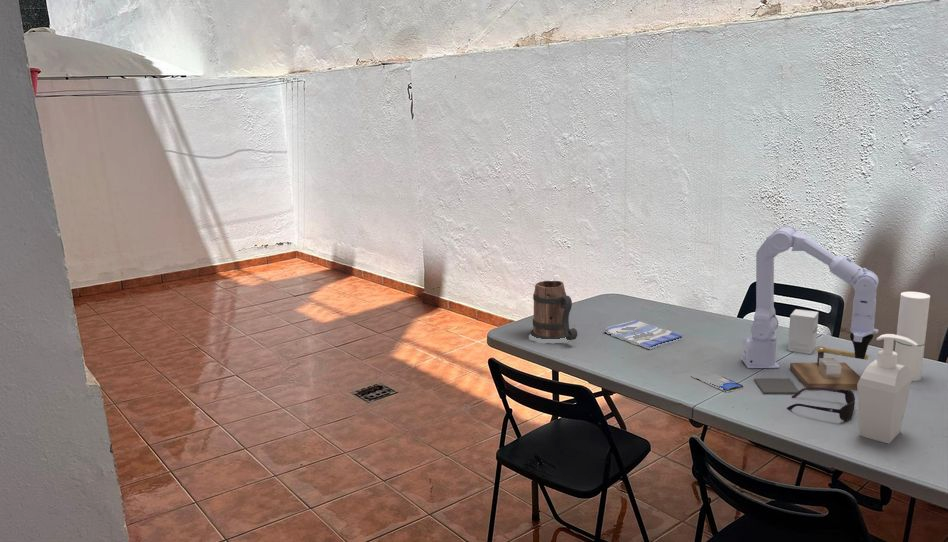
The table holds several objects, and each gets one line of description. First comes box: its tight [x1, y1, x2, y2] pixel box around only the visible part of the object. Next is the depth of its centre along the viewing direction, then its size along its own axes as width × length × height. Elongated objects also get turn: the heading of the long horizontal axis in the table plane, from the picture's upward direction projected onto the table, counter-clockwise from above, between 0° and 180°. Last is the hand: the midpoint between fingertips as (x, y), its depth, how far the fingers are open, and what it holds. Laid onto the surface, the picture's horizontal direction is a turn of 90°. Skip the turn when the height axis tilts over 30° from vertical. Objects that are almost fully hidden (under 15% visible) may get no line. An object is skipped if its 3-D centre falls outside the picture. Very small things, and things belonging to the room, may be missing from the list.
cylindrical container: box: [894, 291, 931, 382], centre depth 202 cm, size 7×7×25 cm
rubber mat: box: [753, 377, 800, 395], centre depth 202 cm, size 10×10×1 cm
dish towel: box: [604, 319, 683, 348], centre depth 250 cm, size 17×24×3 cm
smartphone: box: [709, 376, 744, 391], centre depth 208 cm, size 8×15×1 cm, turn 26°
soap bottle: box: [856, 333, 918, 445], centre depth 169 cm, size 12×10×26 cm
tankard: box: [529, 280, 578, 341], centre depth 249 cm, size 24×17×20 cm
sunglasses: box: [786, 387, 856, 422], centre depth 187 cm, size 14×16×5 cm
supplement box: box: [787, 308, 819, 355], centre depth 228 cm, size 7×7×13 cm
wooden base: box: [789, 352, 861, 391], centre depth 205 cm, size 16×16×6 cm
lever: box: [816, 346, 869, 361], centre depth 207 cm, size 14×2×1 cm, turn 51°
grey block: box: [818, 357, 841, 379], centre depth 204 cm, size 4×6×4 cm, turn 173°
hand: (859, 358), depth 203 cm, fingers closed, pressing on lever
